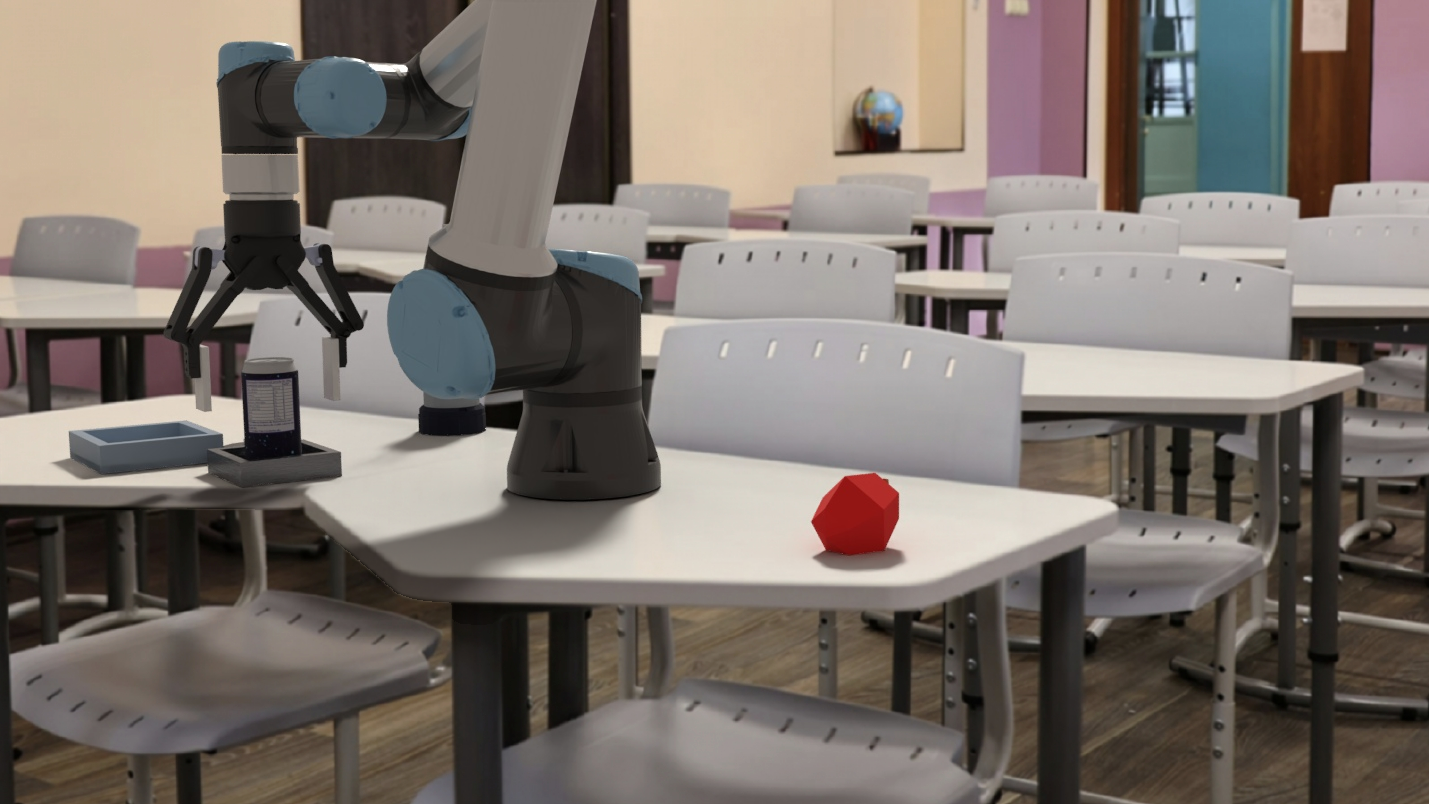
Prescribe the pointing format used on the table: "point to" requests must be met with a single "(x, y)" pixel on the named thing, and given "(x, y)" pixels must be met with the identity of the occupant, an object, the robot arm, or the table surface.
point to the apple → (857, 515)
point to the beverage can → (271, 408)
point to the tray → (143, 446)
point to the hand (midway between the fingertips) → (269, 404)
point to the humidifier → (451, 415)
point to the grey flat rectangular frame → (273, 465)
